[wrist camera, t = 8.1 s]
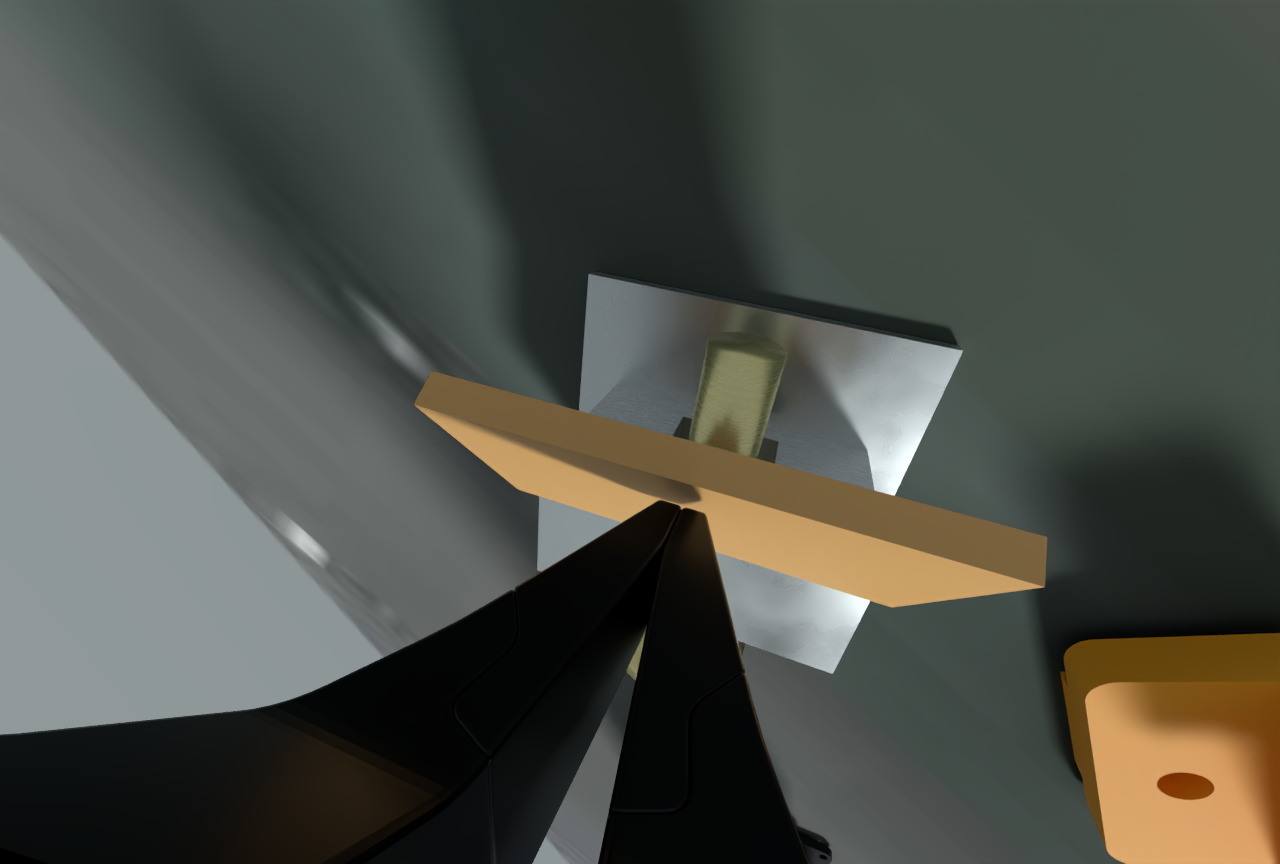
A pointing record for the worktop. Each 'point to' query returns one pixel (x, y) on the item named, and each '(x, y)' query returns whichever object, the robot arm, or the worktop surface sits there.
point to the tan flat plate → (739, 500)
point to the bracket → (1179, 745)
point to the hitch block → (795, 434)
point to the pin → (733, 402)
